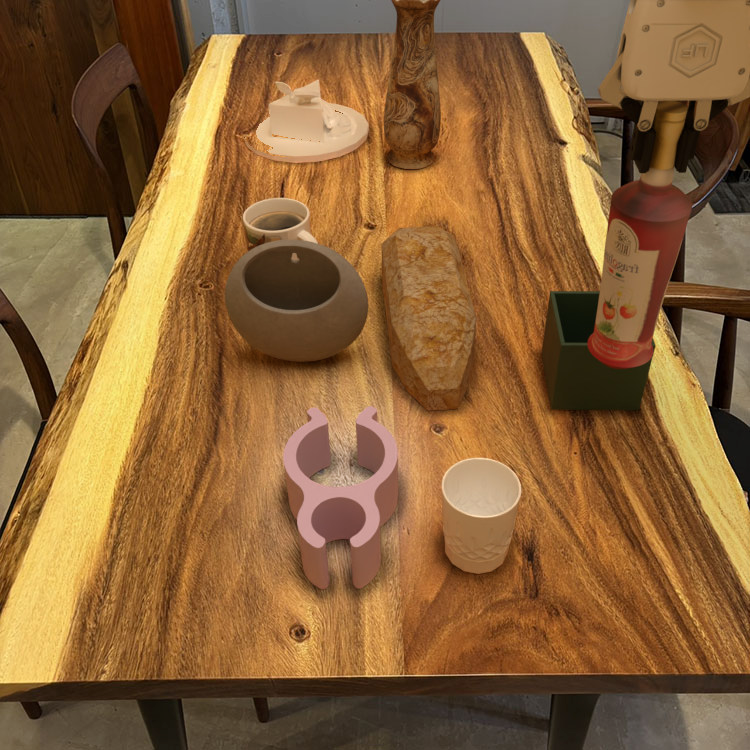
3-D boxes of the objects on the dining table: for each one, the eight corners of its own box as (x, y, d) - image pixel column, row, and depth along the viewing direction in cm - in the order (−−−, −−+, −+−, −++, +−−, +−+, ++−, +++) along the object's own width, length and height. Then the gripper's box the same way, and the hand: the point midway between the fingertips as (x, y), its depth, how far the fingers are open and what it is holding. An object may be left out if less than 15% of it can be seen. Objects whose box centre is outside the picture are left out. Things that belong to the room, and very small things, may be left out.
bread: (378, 257, 133) (377, 201, 126) (447, 253, 133) (449, 197, 127) (398, 412, 106) (397, 351, 99) (484, 407, 106) (489, 346, 100)
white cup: (450, 585, 86) (453, 523, 80) (430, 526, 92) (432, 464, 86) (523, 571, 87) (532, 509, 81) (499, 513, 93) (506, 451, 87)
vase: (373, 157, 159) (368, -10, 139) (414, 140, 164) (416, -23, 144) (410, 177, 153) (411, 5, 133) (452, 158, 158) (459, -10, 138)
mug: (313, 254, 134) (308, 192, 127) (327, 297, 125) (323, 233, 118) (247, 264, 132) (238, 202, 125) (257, 308, 123) (248, 244, 116)
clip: (401, 587, 86) (401, 546, 82) (280, 590, 86) (273, 548, 82) (396, 447, 101) (396, 405, 97) (293, 449, 101) (288, 407, 97)
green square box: (639, 410, 105) (655, 345, 98) (550, 409, 106) (561, 345, 99) (623, 354, 113) (637, 291, 107) (541, 354, 114) (550, 290, 107)
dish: (347, 168, 155) (344, 110, 148) (223, 154, 161) (214, 97, 154) (383, 114, 173) (382, 59, 166) (270, 103, 179) (264, 49, 171)
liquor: (667, 361, 90) (734, 111, 71) (618, 387, 87) (674, 133, 69) (618, 327, 95) (669, 83, 76) (569, 350, 92) (610, 103, 73)
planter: (230, 375, 112) (209, 256, 100) (239, 342, 117) (220, 225, 105) (368, 377, 111) (364, 257, 99) (371, 343, 117) (367, 226, 104)
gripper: (608, -39, 61) (575, 187, 74) (833, -44, 61) (762, 185, 73) (590, -65, 67) (562, 148, 79) (796, -70, 67) (736, 146, 79)
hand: (659, 164), depth 76 cm, fingers closed on liquor, 2 cm apart
